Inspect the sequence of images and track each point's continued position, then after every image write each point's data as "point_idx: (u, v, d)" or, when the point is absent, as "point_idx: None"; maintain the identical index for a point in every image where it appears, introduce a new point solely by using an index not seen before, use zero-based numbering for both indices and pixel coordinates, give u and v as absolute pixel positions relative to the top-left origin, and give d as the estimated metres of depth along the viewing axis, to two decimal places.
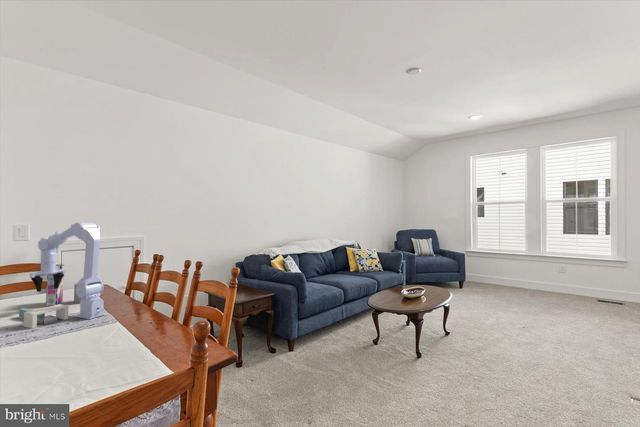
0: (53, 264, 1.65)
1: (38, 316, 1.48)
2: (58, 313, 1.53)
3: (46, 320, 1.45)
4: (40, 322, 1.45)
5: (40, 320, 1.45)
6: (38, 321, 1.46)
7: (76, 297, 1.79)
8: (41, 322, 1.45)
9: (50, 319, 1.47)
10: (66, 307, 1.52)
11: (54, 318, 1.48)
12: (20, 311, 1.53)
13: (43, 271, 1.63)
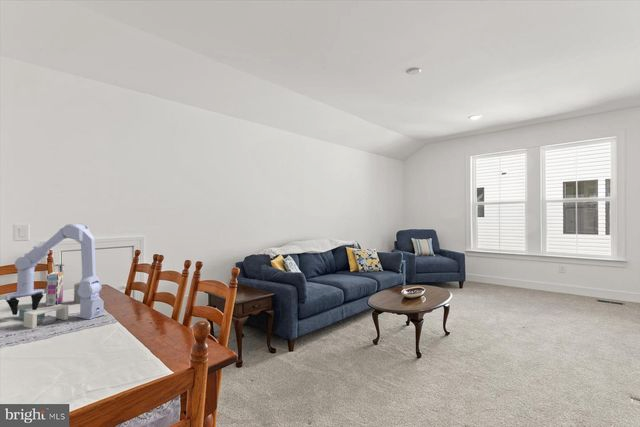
0: (31, 284, 1.53)
1: (38, 316, 1.48)
2: (58, 313, 1.53)
3: (45, 320, 1.45)
4: (39, 322, 1.45)
5: (39, 320, 1.45)
6: (37, 321, 1.46)
7: (76, 297, 1.79)
8: (40, 322, 1.45)
9: (49, 319, 1.47)
10: (66, 307, 1.52)
11: (53, 318, 1.48)
12: (20, 311, 1.53)
13: (19, 292, 1.51)
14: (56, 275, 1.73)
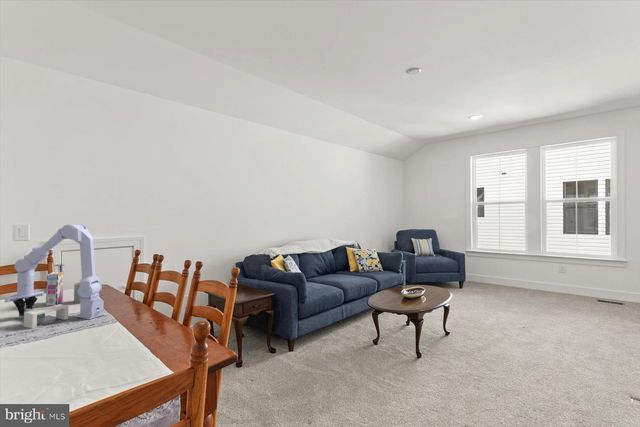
0: (31, 287, 1.53)
1: (38, 315, 1.48)
2: (58, 313, 1.53)
3: (45, 320, 1.45)
4: (39, 322, 1.45)
5: (39, 320, 1.45)
6: (37, 321, 1.46)
7: (76, 297, 1.79)
8: (40, 322, 1.45)
9: (49, 319, 1.47)
10: (66, 307, 1.52)
11: (53, 318, 1.48)
12: None
13: (19, 295, 1.51)
14: (56, 275, 1.73)
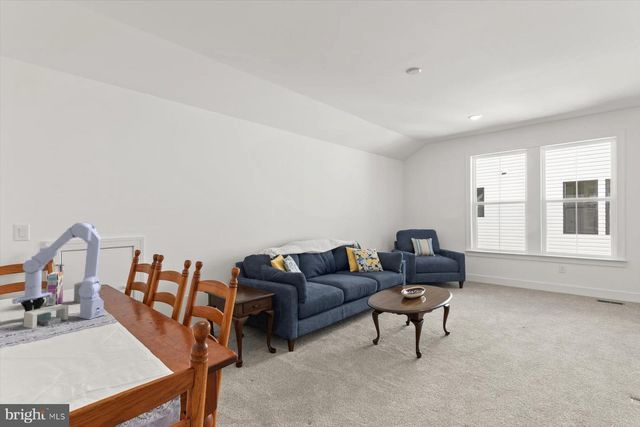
0: (38, 288, 1.51)
1: (44, 317, 1.47)
2: (58, 313, 1.53)
3: (50, 321, 1.44)
4: (44, 323, 1.44)
5: (44, 321, 1.44)
6: (42, 322, 1.44)
7: (76, 297, 1.79)
8: (45, 323, 1.44)
9: (54, 320, 1.45)
10: (66, 307, 1.52)
11: (58, 319, 1.47)
12: None
13: (27, 296, 1.49)
14: (56, 275, 1.73)
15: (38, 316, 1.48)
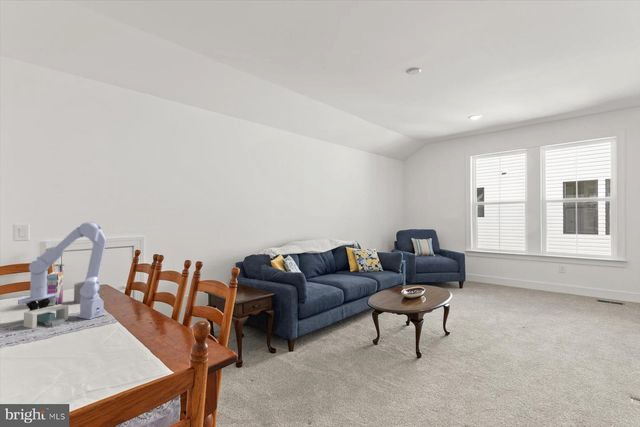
0: (44, 289, 1.50)
1: (48, 317, 1.46)
2: (58, 313, 1.53)
3: (54, 322, 1.43)
4: (48, 324, 1.43)
5: (48, 322, 1.43)
6: (46, 323, 1.43)
7: (76, 297, 1.79)
8: (49, 324, 1.42)
9: (58, 321, 1.44)
10: (66, 307, 1.52)
11: (62, 320, 1.46)
12: None
13: (33, 297, 1.47)
14: (56, 275, 1.73)
15: (42, 317, 1.47)
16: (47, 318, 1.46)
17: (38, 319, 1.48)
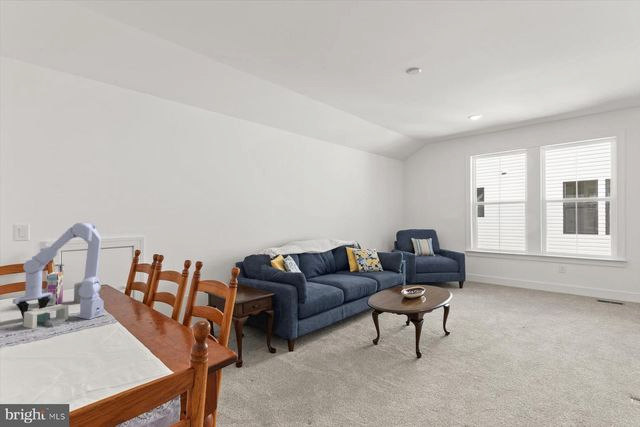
0: (39, 288, 1.51)
1: (43, 317, 1.47)
2: (58, 313, 1.53)
3: (54, 322, 1.43)
4: (48, 324, 1.43)
5: (48, 322, 1.43)
6: (46, 323, 1.43)
7: (76, 297, 1.79)
8: (49, 324, 1.42)
9: (58, 321, 1.44)
10: (66, 307, 1.52)
11: (62, 320, 1.46)
12: None
13: (28, 296, 1.48)
14: (56, 275, 1.73)
15: (37, 316, 1.49)
16: (42, 318, 1.47)
17: None
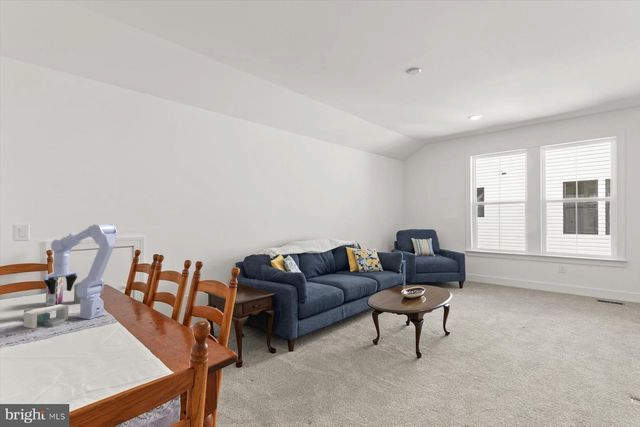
0: (66, 266, 1.61)
1: (43, 317, 1.47)
2: (58, 313, 1.53)
3: (54, 322, 1.43)
4: (48, 324, 1.43)
5: (48, 322, 1.43)
6: (46, 323, 1.43)
7: (76, 297, 1.79)
8: (49, 324, 1.42)
9: (58, 321, 1.44)
10: (66, 307, 1.52)
11: (62, 320, 1.46)
12: None
13: (56, 273, 1.59)
14: None
15: (37, 316, 1.49)
16: (42, 318, 1.47)
17: None
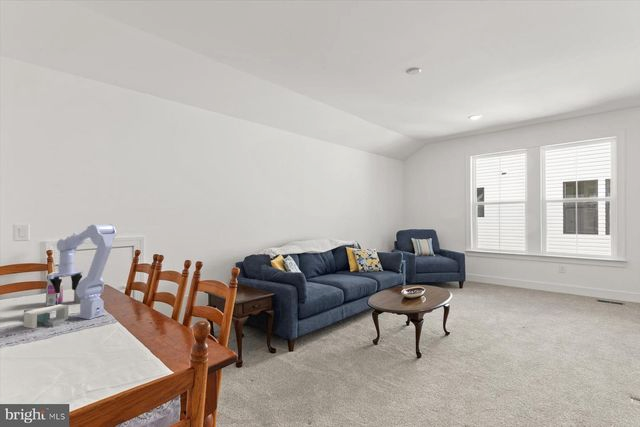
0: (71, 265, 1.64)
1: (43, 317, 1.47)
2: (58, 313, 1.53)
3: (55, 322, 1.43)
4: (48, 324, 1.43)
5: (48, 322, 1.43)
6: (46, 323, 1.43)
7: (76, 297, 1.79)
8: (49, 324, 1.42)
9: (58, 321, 1.44)
10: (66, 307, 1.52)
11: (62, 320, 1.46)
12: None
13: (62, 272, 1.61)
14: None
15: (37, 316, 1.49)
16: (42, 318, 1.47)
17: None
